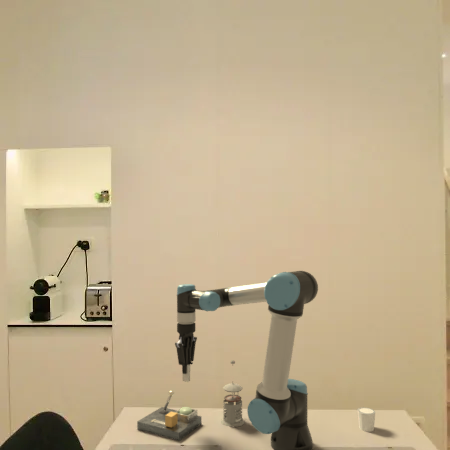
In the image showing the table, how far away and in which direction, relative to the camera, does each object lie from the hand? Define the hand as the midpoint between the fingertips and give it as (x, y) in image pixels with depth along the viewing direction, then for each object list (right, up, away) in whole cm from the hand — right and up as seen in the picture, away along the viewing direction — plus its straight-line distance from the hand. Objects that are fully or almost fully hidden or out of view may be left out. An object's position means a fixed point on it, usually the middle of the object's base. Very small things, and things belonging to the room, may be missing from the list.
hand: (186, 380), depth 164 cm
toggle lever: (-10, -15, +5) cm, 18 cm away
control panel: (-6, -18, -2) cm, 19 cm away
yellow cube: (-5, -14, -8) cm, 17 cm away
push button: (0, -14, -1) cm, 15 cm away
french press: (+19, -18, +4) cm, 27 cm away
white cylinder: (+72, -18, -3) cm, 75 cm away
